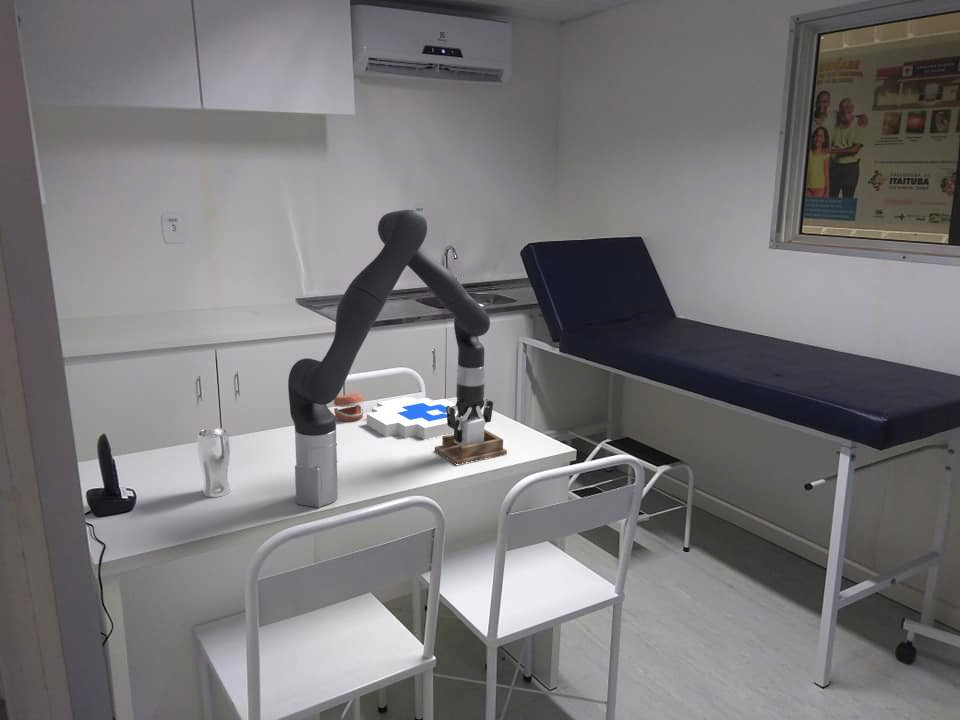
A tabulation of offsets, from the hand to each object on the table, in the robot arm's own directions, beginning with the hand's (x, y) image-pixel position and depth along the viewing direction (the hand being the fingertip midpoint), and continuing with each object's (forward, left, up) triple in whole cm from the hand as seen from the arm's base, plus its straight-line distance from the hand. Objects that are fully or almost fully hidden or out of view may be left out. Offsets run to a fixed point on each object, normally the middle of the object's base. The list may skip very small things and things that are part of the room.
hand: (469, 439), depth 200 cm
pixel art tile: (+19, +23, -5) cm, 30 cm away
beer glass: (-45, +49, -4) cm, 66 cm away
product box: (0, 0, -1) cm, 1 cm away
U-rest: (0, 0, -4) cm, 4 cm away
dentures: (+14, +43, -4) cm, 45 cm away
